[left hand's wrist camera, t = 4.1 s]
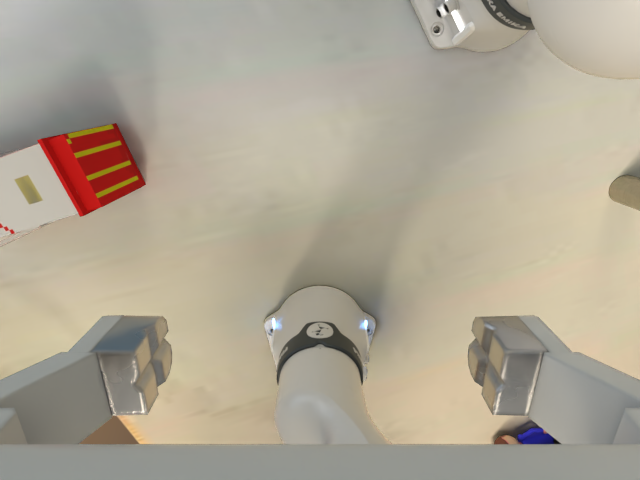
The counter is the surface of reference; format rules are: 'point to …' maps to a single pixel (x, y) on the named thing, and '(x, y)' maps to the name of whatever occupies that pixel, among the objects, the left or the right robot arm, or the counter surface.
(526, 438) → the figurine character
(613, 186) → the beige cylinder
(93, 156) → the toy
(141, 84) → the counter surface
